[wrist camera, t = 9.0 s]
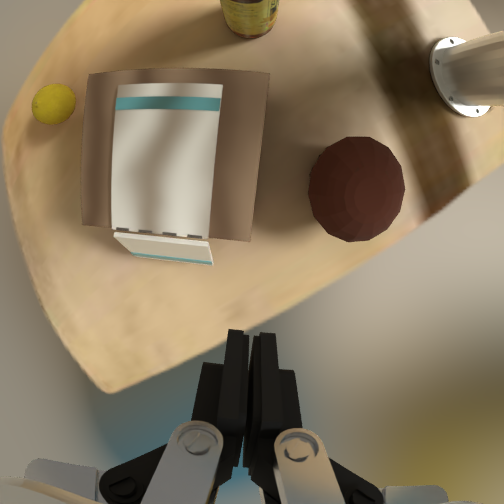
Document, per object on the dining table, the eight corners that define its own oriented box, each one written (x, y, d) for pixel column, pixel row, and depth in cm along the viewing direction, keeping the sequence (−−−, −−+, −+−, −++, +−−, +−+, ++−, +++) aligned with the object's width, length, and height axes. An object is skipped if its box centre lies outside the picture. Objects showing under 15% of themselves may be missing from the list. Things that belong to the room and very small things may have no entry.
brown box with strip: (266, 90, 33) (270, 72, 23) (251, 216, 38) (249, 244, 29) (126, 86, 32) (85, 73, 22) (118, 204, 38) (79, 226, 28)
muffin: (308, 127, 34) (327, 123, 25) (389, 146, 35) (428, 151, 25) (292, 219, 39) (304, 245, 29) (371, 232, 39) (402, 260, 30)
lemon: (80, 79, 31) (47, 72, 24) (90, 112, 33) (57, 110, 26) (52, 99, 32) (18, 96, 25) (61, 131, 34) (26, 133, 26)
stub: (208, 241, 29) (207, 247, 29) (213, 261, 37) (212, 266, 37) (114, 232, 29) (113, 237, 29) (136, 253, 37) (135, 257, 37)
